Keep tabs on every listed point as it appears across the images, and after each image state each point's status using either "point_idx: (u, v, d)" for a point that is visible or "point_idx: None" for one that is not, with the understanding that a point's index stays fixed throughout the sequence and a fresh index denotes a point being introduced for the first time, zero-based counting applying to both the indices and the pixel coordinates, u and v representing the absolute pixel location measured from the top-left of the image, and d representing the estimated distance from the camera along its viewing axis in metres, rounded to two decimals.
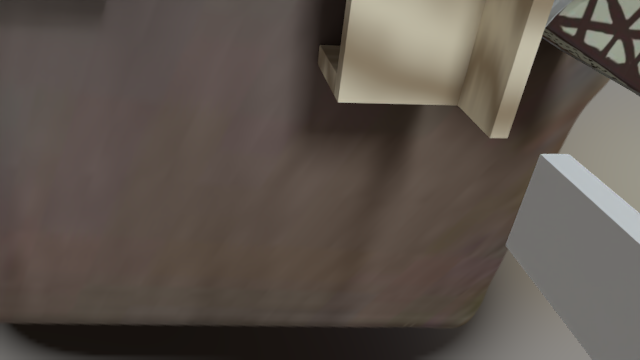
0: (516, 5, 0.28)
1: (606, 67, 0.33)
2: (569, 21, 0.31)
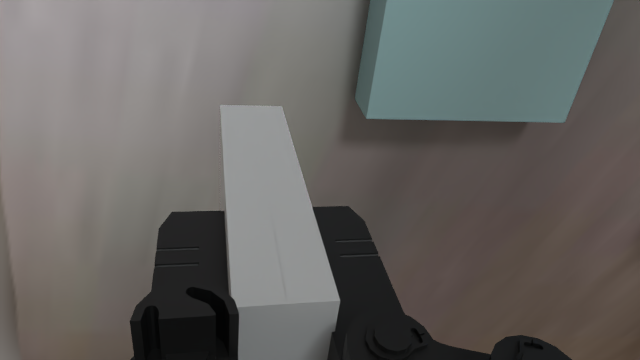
0: None
1: None
2: None
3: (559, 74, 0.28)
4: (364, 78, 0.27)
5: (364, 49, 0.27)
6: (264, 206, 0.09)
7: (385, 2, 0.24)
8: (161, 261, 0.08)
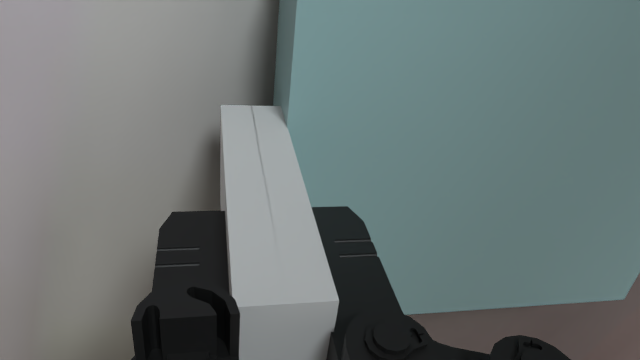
0: None
1: None
2: None
3: (621, 234, 0.15)
4: None
5: None
6: (264, 206, 0.09)
7: None
8: (162, 261, 0.08)
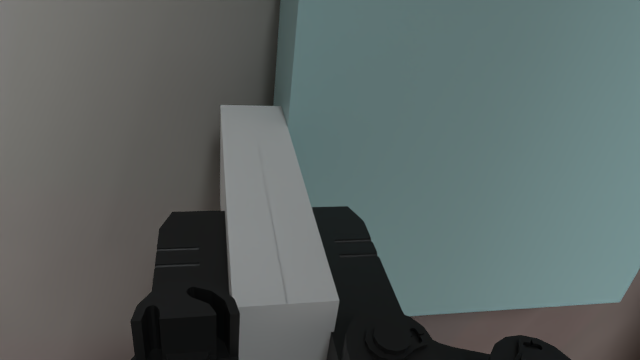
0: None
1: None
2: None
3: (617, 238, 0.16)
4: None
5: None
6: (264, 206, 0.09)
7: None
8: (162, 261, 0.08)
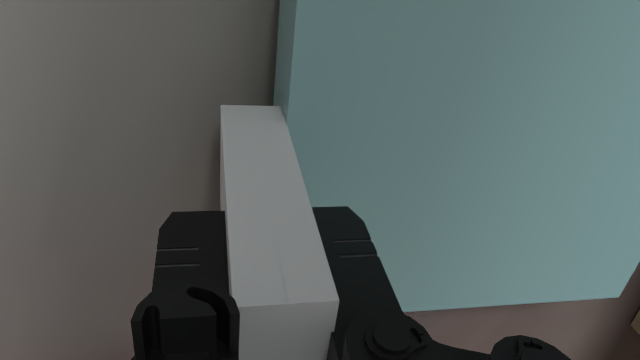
0: None
1: None
2: None
3: (616, 232, 0.16)
4: None
5: None
6: (264, 206, 0.09)
7: None
8: (162, 261, 0.08)
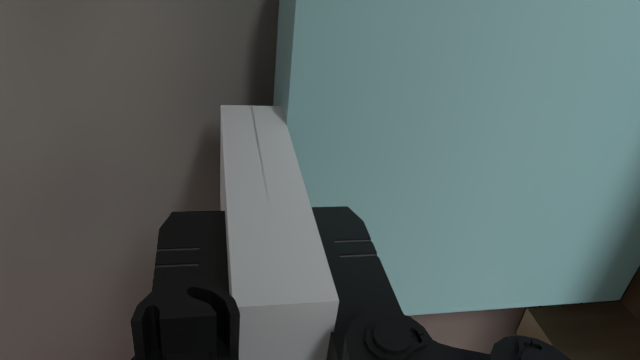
0: None
1: None
2: None
3: (616, 236, 0.16)
4: None
5: None
6: (264, 206, 0.09)
7: None
8: (162, 261, 0.08)
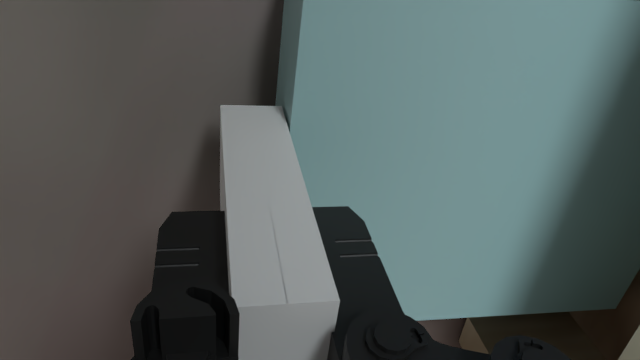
0: None
1: None
2: None
3: (614, 245, 0.16)
4: None
5: None
6: (264, 206, 0.09)
7: None
8: (161, 261, 0.08)
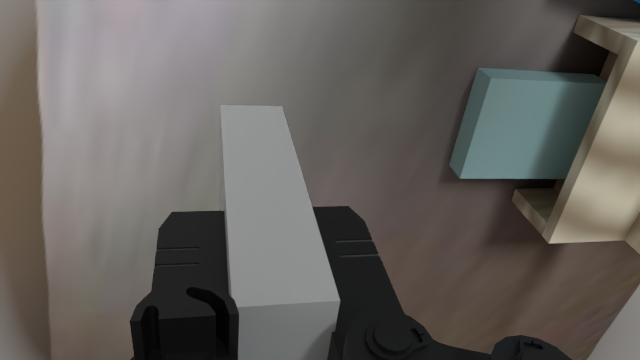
0: None
1: None
2: None
3: (567, 153, 0.49)
4: (458, 155, 0.48)
5: (458, 139, 0.48)
6: (264, 206, 0.09)
7: (477, 121, 0.45)
8: (161, 261, 0.08)
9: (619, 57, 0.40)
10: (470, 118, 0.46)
